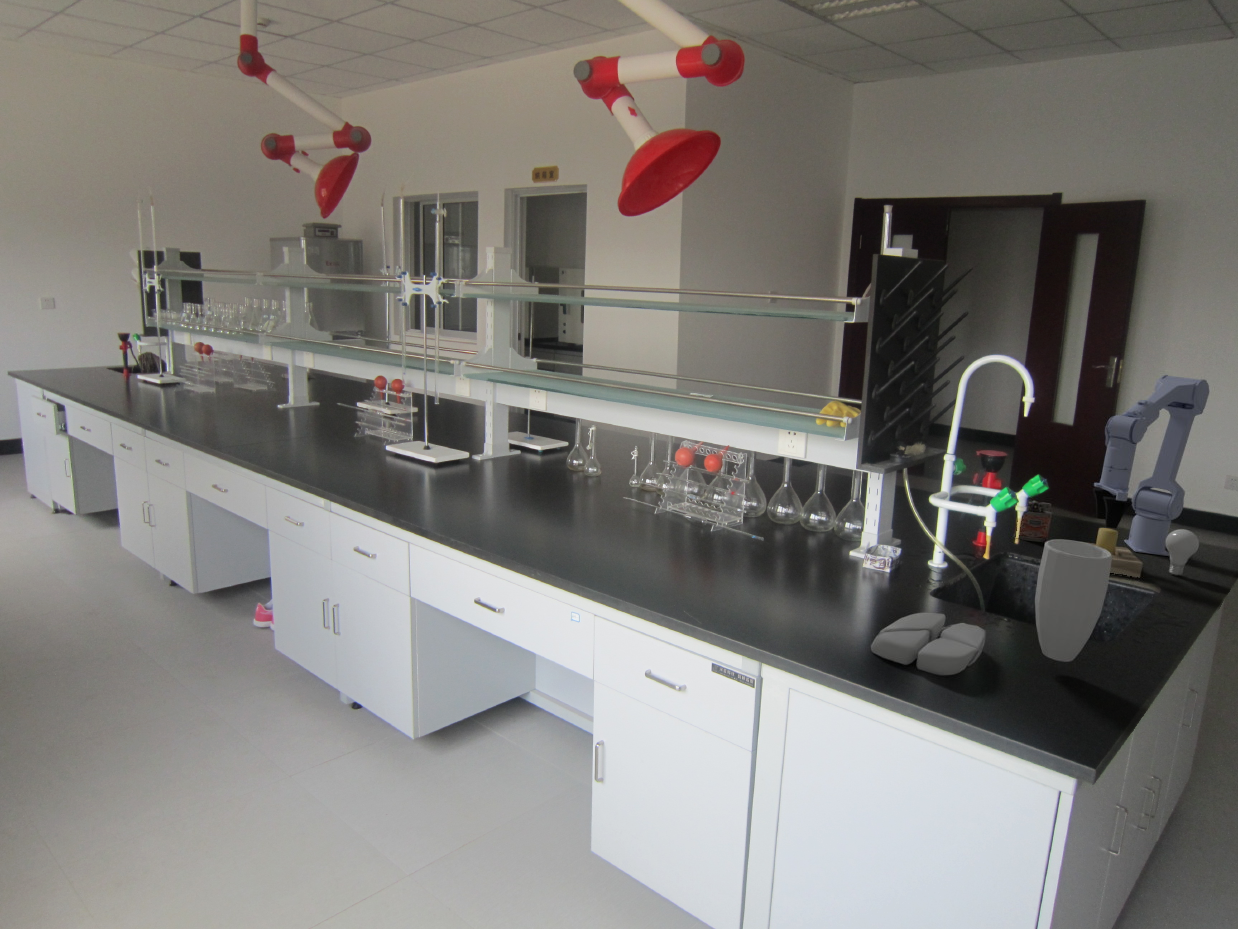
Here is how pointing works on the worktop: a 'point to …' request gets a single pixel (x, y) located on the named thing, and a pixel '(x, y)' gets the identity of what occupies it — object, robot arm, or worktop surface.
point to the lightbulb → (1180, 549)
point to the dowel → (1107, 539)
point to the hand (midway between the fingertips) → (1106, 523)
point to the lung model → (930, 643)
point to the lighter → (1035, 522)
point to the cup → (1069, 596)
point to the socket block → (1125, 562)
